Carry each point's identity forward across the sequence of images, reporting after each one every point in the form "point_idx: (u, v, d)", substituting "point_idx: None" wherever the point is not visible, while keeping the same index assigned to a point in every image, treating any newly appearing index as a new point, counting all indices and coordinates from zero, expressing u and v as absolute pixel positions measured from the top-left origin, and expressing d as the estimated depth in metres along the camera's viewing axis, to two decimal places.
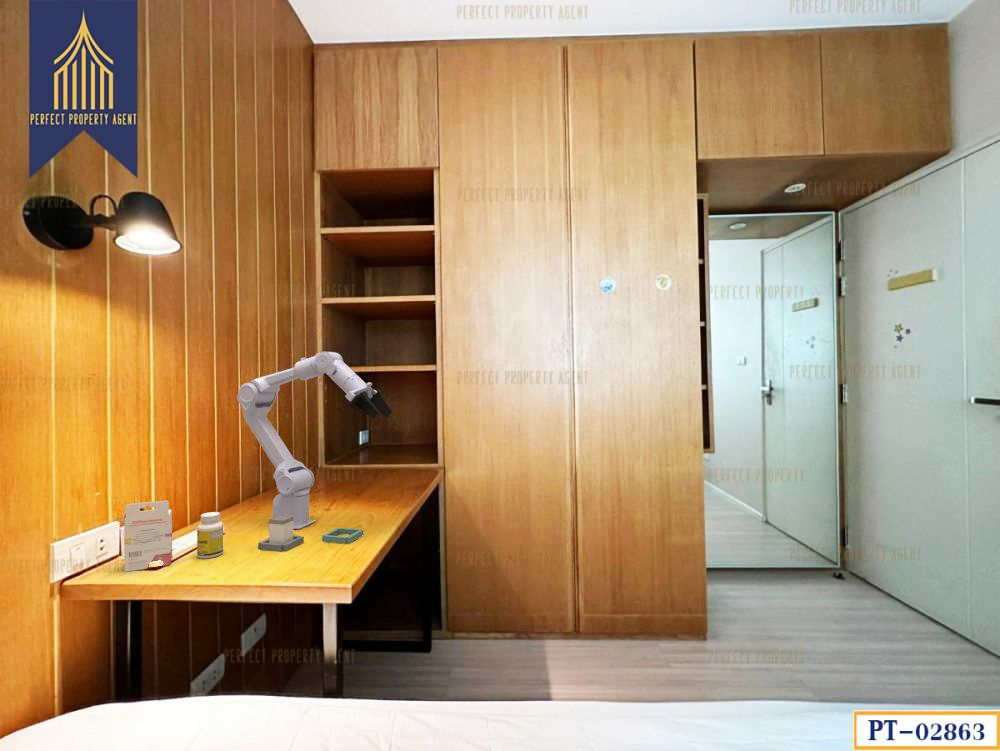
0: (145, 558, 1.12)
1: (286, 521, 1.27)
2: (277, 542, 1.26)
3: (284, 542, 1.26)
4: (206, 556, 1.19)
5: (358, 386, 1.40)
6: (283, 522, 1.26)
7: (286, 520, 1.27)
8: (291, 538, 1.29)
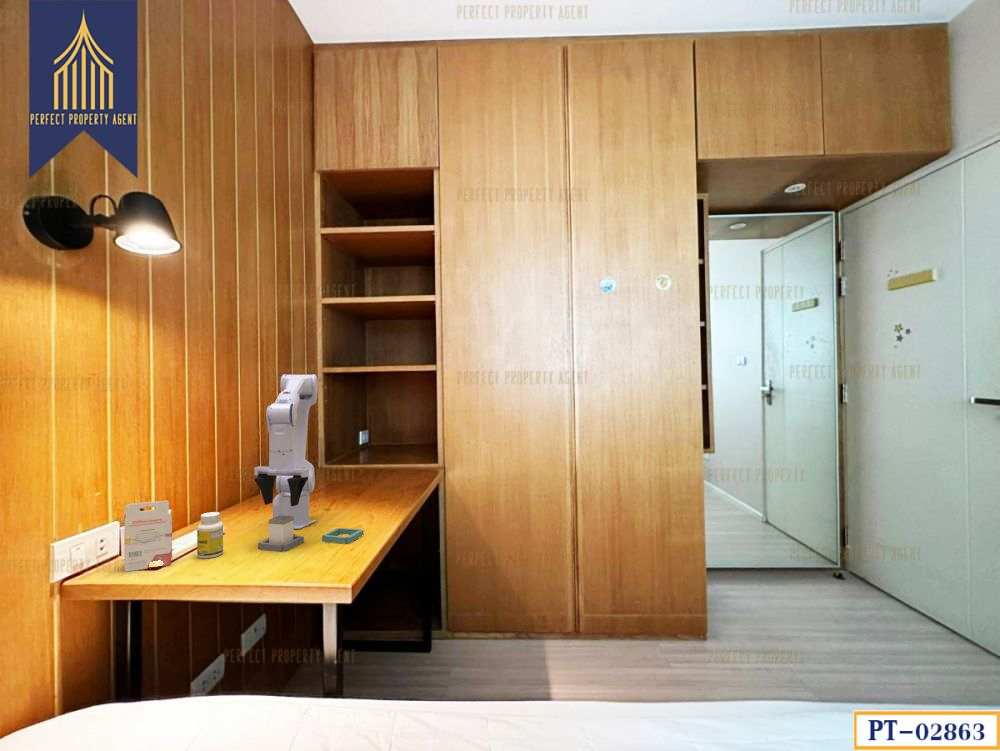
0: (145, 558, 1.12)
1: (286, 521, 1.27)
2: (277, 542, 1.26)
3: (284, 542, 1.26)
4: (206, 556, 1.19)
5: (269, 465, 1.27)
6: (283, 522, 1.26)
7: (286, 520, 1.27)
8: (291, 538, 1.29)
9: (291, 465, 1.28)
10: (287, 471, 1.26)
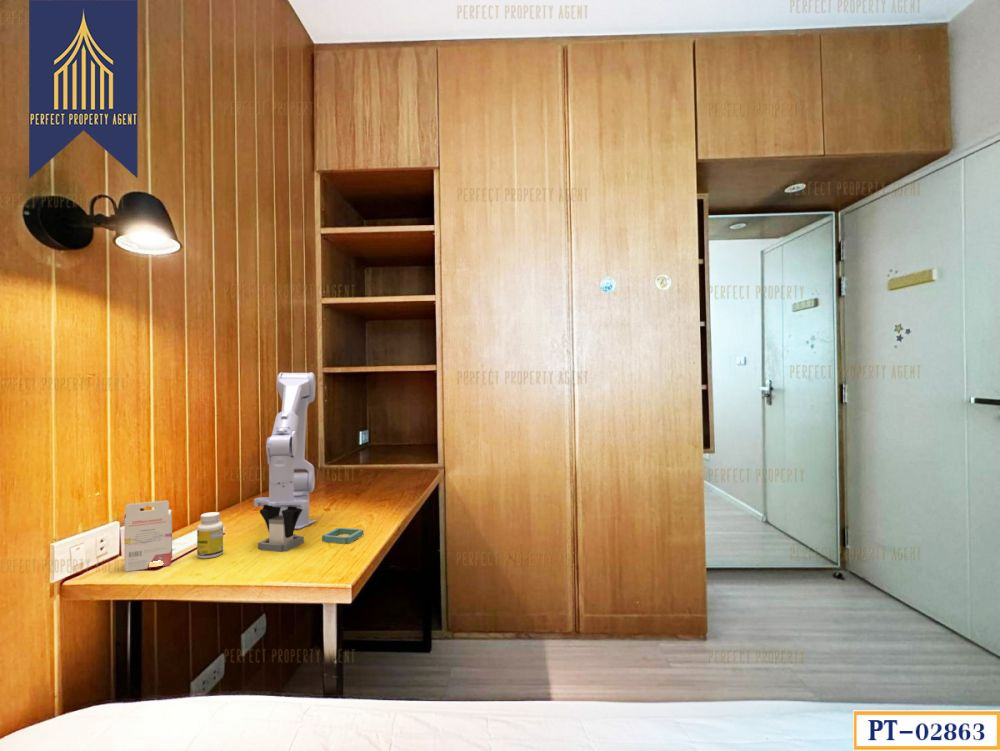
0: (145, 558, 1.12)
1: None
2: (277, 542, 1.26)
3: (284, 542, 1.26)
4: (206, 556, 1.19)
5: (269, 497, 1.27)
6: (283, 522, 1.26)
7: None
8: (291, 538, 1.29)
9: (291, 497, 1.28)
10: (287, 503, 1.26)
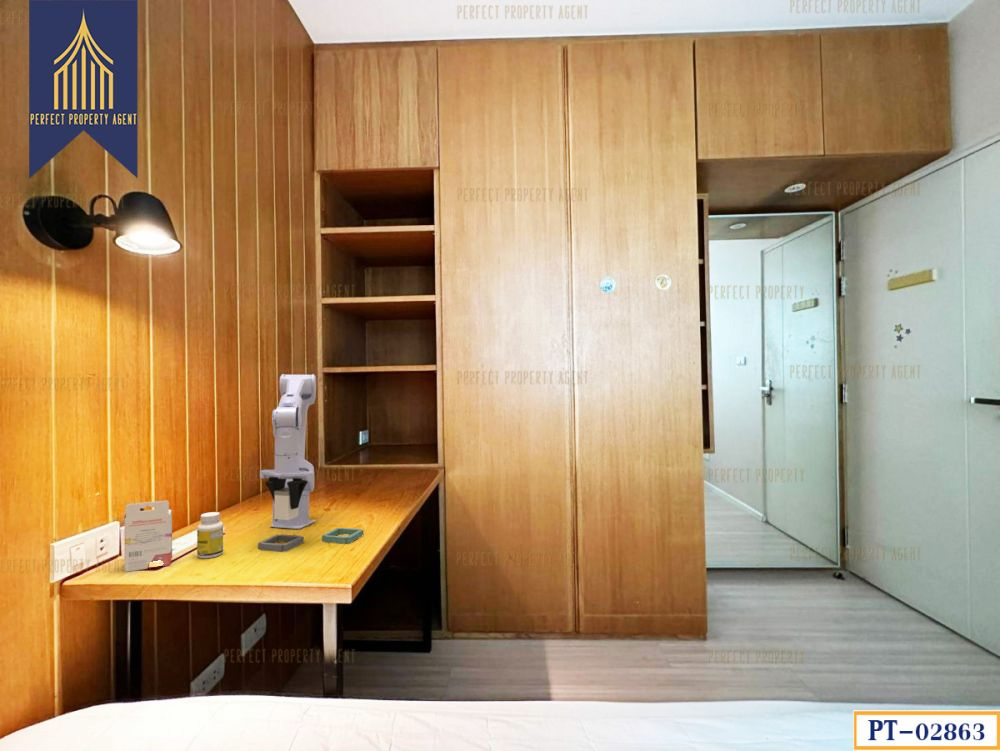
0: (145, 558, 1.12)
1: None
2: (282, 513, 1.27)
3: (289, 513, 1.27)
4: (206, 556, 1.19)
5: None
6: (288, 493, 1.27)
7: None
8: (296, 510, 1.29)
9: (296, 468, 1.28)
10: (292, 474, 1.26)
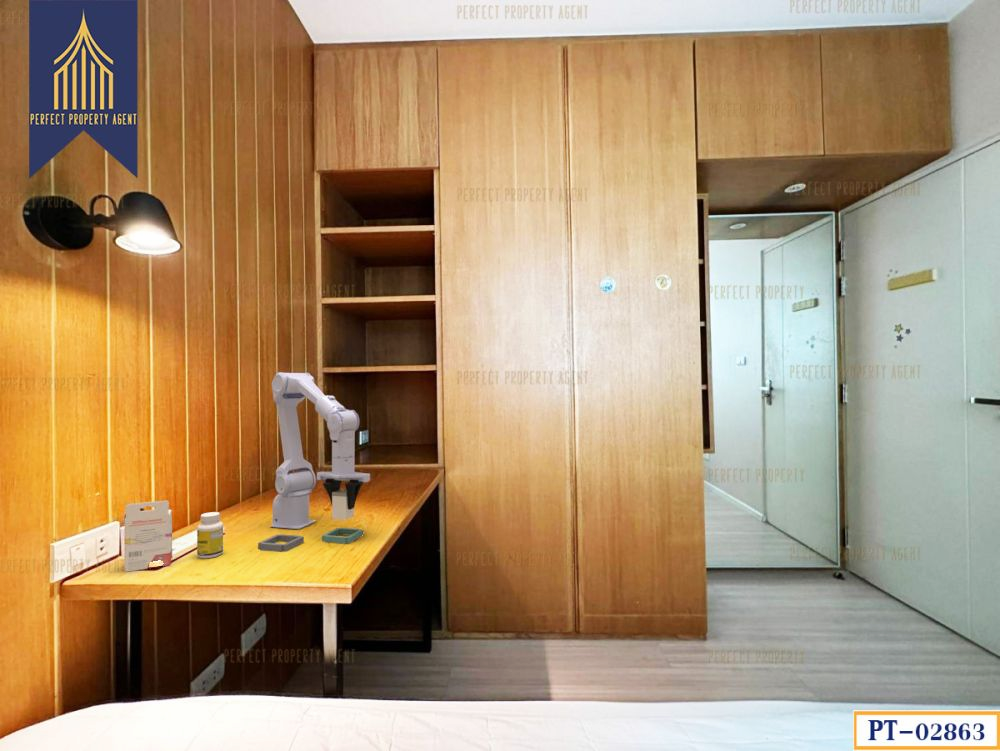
0: (145, 558, 1.12)
1: None
2: (340, 513, 1.32)
3: (347, 513, 1.32)
4: (206, 556, 1.19)
5: (332, 471, 1.33)
6: (346, 494, 1.32)
7: None
8: (352, 510, 1.35)
9: (353, 470, 1.34)
10: (350, 476, 1.32)
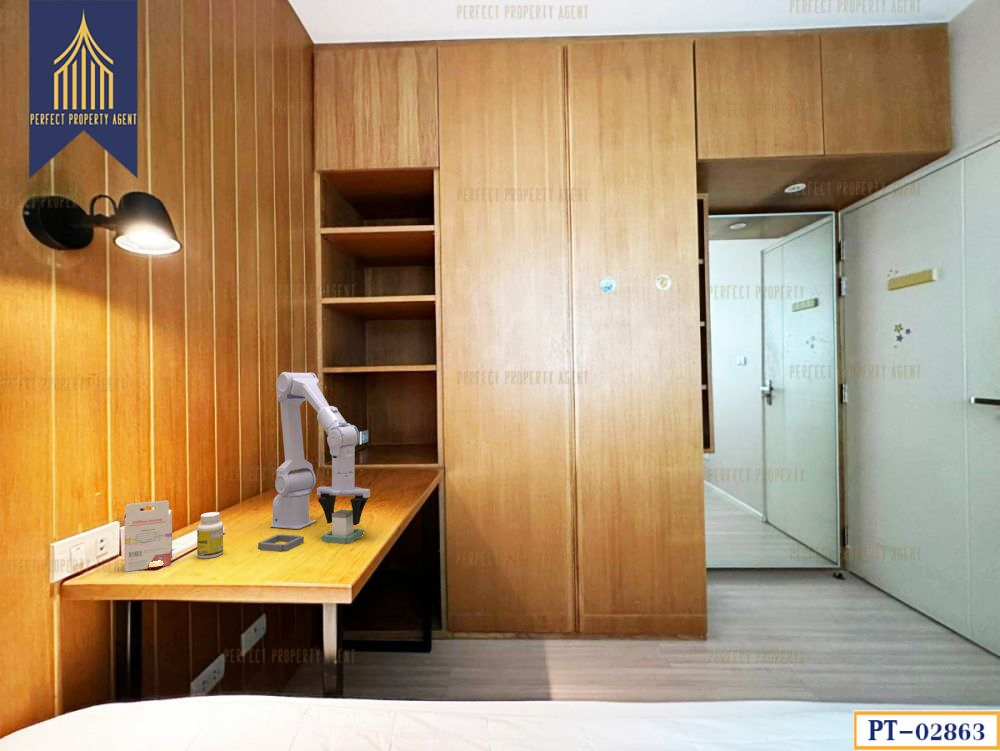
0: (145, 558, 1.12)
1: (348, 515, 1.33)
2: (340, 535, 1.32)
3: (346, 535, 1.32)
4: (206, 556, 1.19)
5: (332, 486, 1.33)
6: (346, 516, 1.32)
7: (348, 514, 1.33)
8: (352, 531, 1.35)
9: (352, 486, 1.34)
10: (350, 492, 1.31)
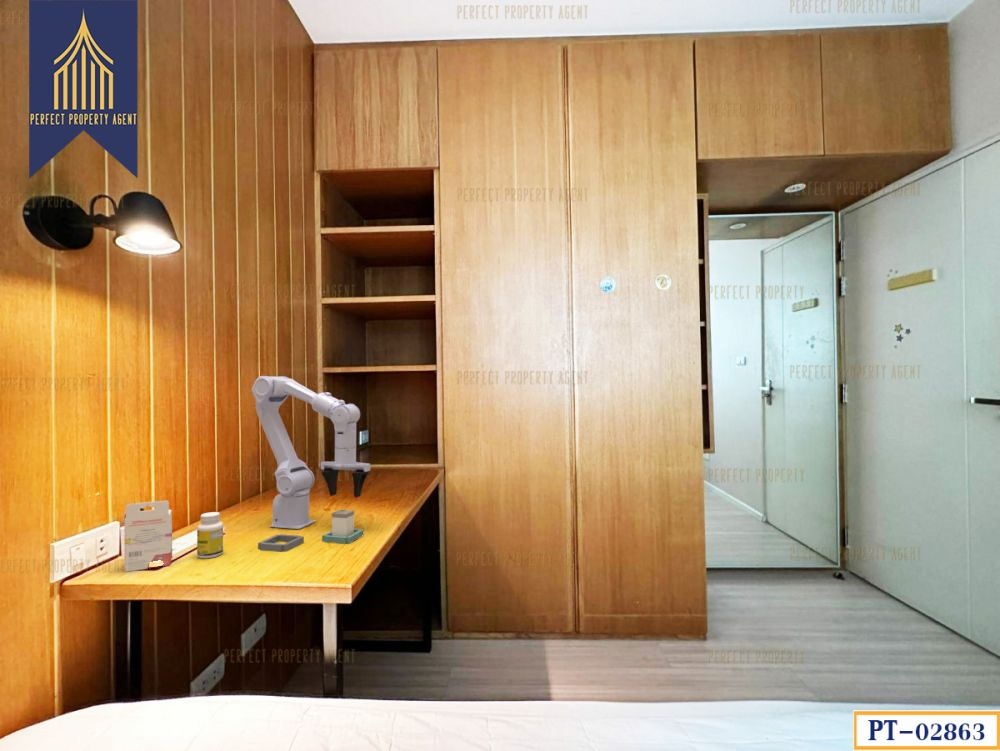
0: (145, 558, 1.12)
1: (348, 515, 1.33)
2: (340, 535, 1.32)
3: (346, 535, 1.32)
4: (206, 556, 1.19)
5: None
6: (346, 516, 1.32)
7: (348, 514, 1.33)
8: (352, 531, 1.35)
9: (354, 460, 1.42)
10: (351, 466, 1.40)
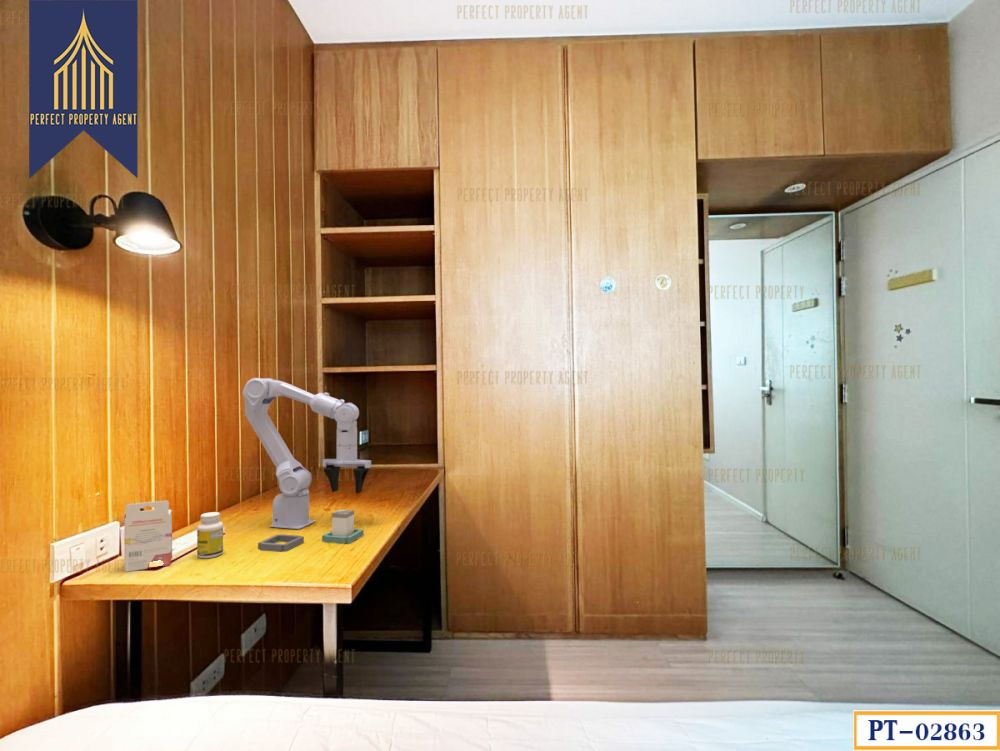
0: (145, 558, 1.12)
1: (348, 515, 1.33)
2: (340, 535, 1.32)
3: (346, 535, 1.32)
4: (206, 556, 1.19)
5: None
6: (346, 516, 1.32)
7: (348, 514, 1.33)
8: (352, 531, 1.35)
9: (355, 457, 1.47)
10: (353, 462, 1.45)
